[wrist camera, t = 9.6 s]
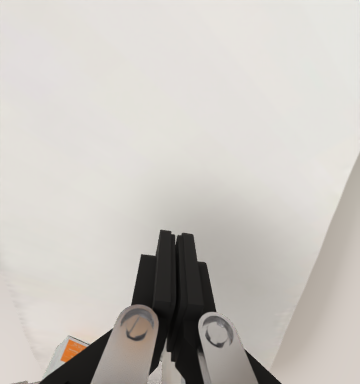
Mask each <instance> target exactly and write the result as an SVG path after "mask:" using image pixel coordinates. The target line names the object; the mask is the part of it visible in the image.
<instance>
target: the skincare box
mask: <svg viewBox="0 0 360 384" xmlns="http://www.w3.org/2000/svg"><path fill="white" fill-rule="evenodd" d="M88 346H89V345H88V344H85V343H83V342H81V341H79V340H76V339H74V338H72V337H70V336H68V337H67V338H66V339H65V340H64V341H63V342H62V343H61V344H60V345H59V346H58V347H57V348H56V351H55V353H54V355H53V357H52V359H51V361H50V363H49V365H48V368H47V370H46V372H45V374H44V376H43V378H42V380H43V379H44V378H45V377H46V376H48V375H49V374H50V373H52V372H53V371H55V370H56V369H57V368H59V367H60V366H62V365H63V364H64V363H66V362H67V361H68V360H70V359H71V358H73V357H74V356H75V355H77V354H78V353H80V352H81V351H82V350H84V349H85V348H86V347H88ZM42 380H41V381H42Z"/></svg>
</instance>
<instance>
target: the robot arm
mask: <svg viewBox="0 0 360 384" xmlns="http://www.w3.org/2000/svg"><path fill="white" fill-rule="evenodd" d="M159 361H161V362H162V382H161V384H281V383H280V382H279V381H278V380H277V379H276V378H275V377H274V376H273V375H272V374H271V373H270V372H269V371H267V370H266V369H265V368H264V367H263V366H262V365H261V364H260V363H259V362H258V361H257V360H256V359H255V358H254V357H252V356H251V355H250V354H249V353H248V352H247V351H246V350H245V349H244V348H243V345H242V343H241V340H240V338H239V335H238V333H237V330H236V328H235V327H234V325H233V323H232V322H231V321H230V320H229V319H228V318H227V317H225V316H224V315H223V314H220V313H218V312H216V308H215V303H214V299H213V294H212V289H211V284H210V279H209V274H208V269H207V265H206V263H205V262H198V261H197V256H196V249H195V243H194V236H193V234H187V233H182V235H178V236H177V240H176V245H175V235H174V234H171V231H166V230H160V235H159V240H158V246H157V251H156V256H151V255H143V254H141V258H140V263H139V269H138V274H137V279H136V284H135V289H134V294H133V299H132V304H131V306H129V307H127V308H125V309H124V310H123V311H122V312H121V313H120V315H119V317H118V318H117V321H116V323H115V325H114V328H113V329H111V330H110V331H109V332H107V333H106V334H104V335H103V336H102V337H100V338H99V339H97V340H96V341H95V342H93V343H92V344H91V345H89V346H88V347H86V348H85V349H84V350H82V351H81V352H80V353H78V354H77V355H75V356H74V357H73V358H71V359H70V360H68V361H67V362H66V363H64V364H63V365H62V366H60V367H59V368H57V369H56V370H55V371H53V372H52V373H50V374H49V375H48V376H46V377H45V378H44V379H43V380H42V381H39V382H34V383H29V384H147V380H148V376H149V375H150V374H151V373H152V372H153V371H154V370H155V369H156V368H157V367H158V365H159ZM13 384H28V382H27V381H24V382H18V383H13Z"/></svg>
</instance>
